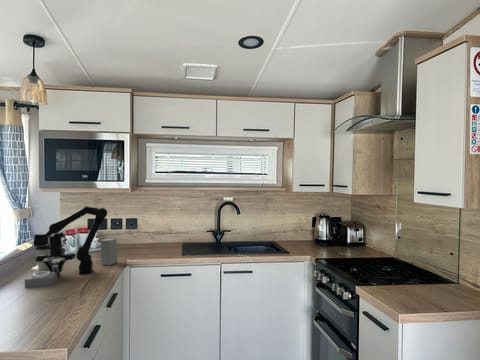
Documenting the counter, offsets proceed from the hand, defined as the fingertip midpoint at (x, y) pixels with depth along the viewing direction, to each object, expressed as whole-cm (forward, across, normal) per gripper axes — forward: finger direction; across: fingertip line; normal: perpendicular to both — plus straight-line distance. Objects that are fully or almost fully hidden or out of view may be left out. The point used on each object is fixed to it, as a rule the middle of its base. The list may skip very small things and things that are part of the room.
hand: (56, 272), depth 179 cm
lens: (+2, 0, 0) cm, 2 cm away
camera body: (+2, +3, +12) cm, 13 cm away
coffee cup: (+2, +12, -16) cm, 20 cm away
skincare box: (+2, -24, -20) cm, 32 cm away
